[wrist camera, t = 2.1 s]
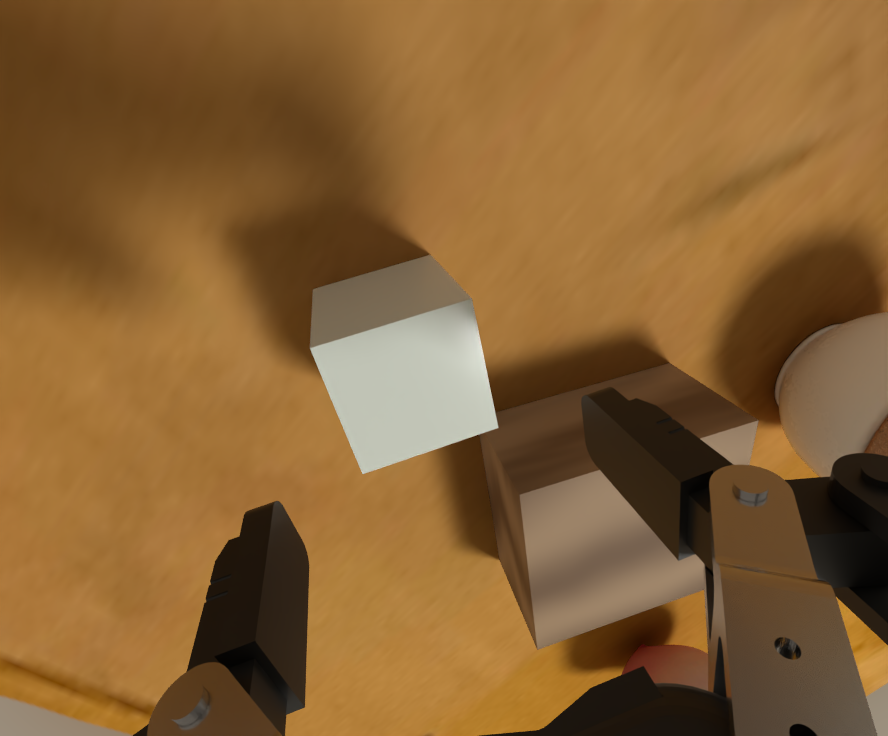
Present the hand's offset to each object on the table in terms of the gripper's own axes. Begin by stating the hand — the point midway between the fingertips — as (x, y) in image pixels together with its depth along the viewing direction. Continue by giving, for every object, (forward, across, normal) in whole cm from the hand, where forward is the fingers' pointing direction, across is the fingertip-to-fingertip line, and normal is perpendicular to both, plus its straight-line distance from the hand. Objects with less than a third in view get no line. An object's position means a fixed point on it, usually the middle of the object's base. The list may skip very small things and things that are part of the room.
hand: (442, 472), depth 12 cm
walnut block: (+10, -8, +12) cm, 17 cm away
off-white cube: (+10, 0, 0) cm, 10 cm away
